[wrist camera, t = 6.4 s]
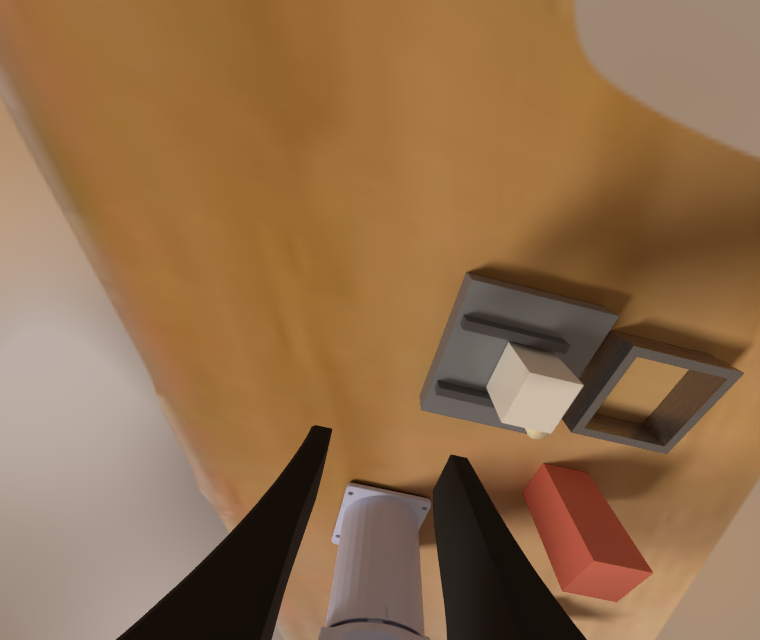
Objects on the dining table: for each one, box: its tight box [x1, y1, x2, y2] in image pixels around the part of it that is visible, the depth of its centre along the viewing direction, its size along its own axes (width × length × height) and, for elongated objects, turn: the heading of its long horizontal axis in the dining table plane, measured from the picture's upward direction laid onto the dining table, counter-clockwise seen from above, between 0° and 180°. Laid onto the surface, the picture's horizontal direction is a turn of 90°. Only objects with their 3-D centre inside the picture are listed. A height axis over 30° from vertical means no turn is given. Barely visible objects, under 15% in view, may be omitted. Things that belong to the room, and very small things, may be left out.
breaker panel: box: [420, 272, 619, 439], centre depth 19 cm, size 10×9×2 cm
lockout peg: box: [523, 463, 653, 602], centre depth 22 cm, size 4×4×7 cm
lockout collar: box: [562, 331, 744, 454], centre depth 20 cm, size 7×7×2 cm
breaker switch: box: [486, 342, 584, 434], centre depth 17 cm, size 4×3×3 cm
